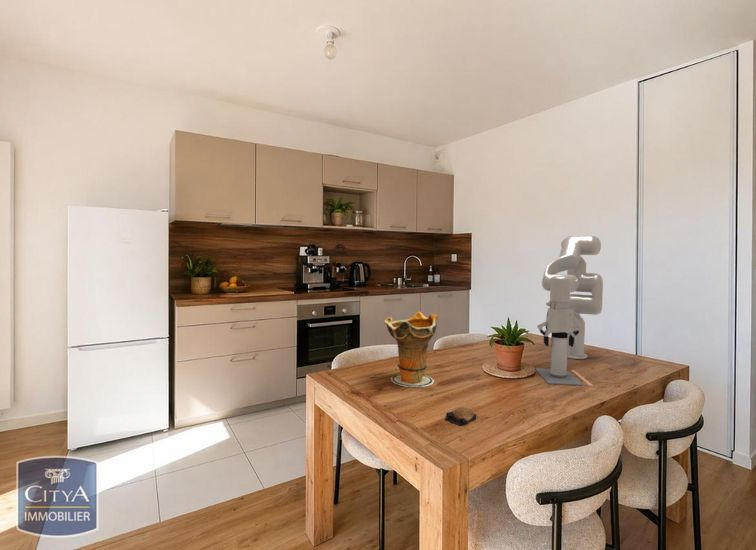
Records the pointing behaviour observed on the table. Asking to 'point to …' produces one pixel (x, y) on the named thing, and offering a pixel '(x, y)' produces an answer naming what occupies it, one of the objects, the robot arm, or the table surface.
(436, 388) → the table surface
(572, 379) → the mat
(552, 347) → the travel mug
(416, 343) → the decorative vase
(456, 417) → the brown black rock
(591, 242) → the robot arm
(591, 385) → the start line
